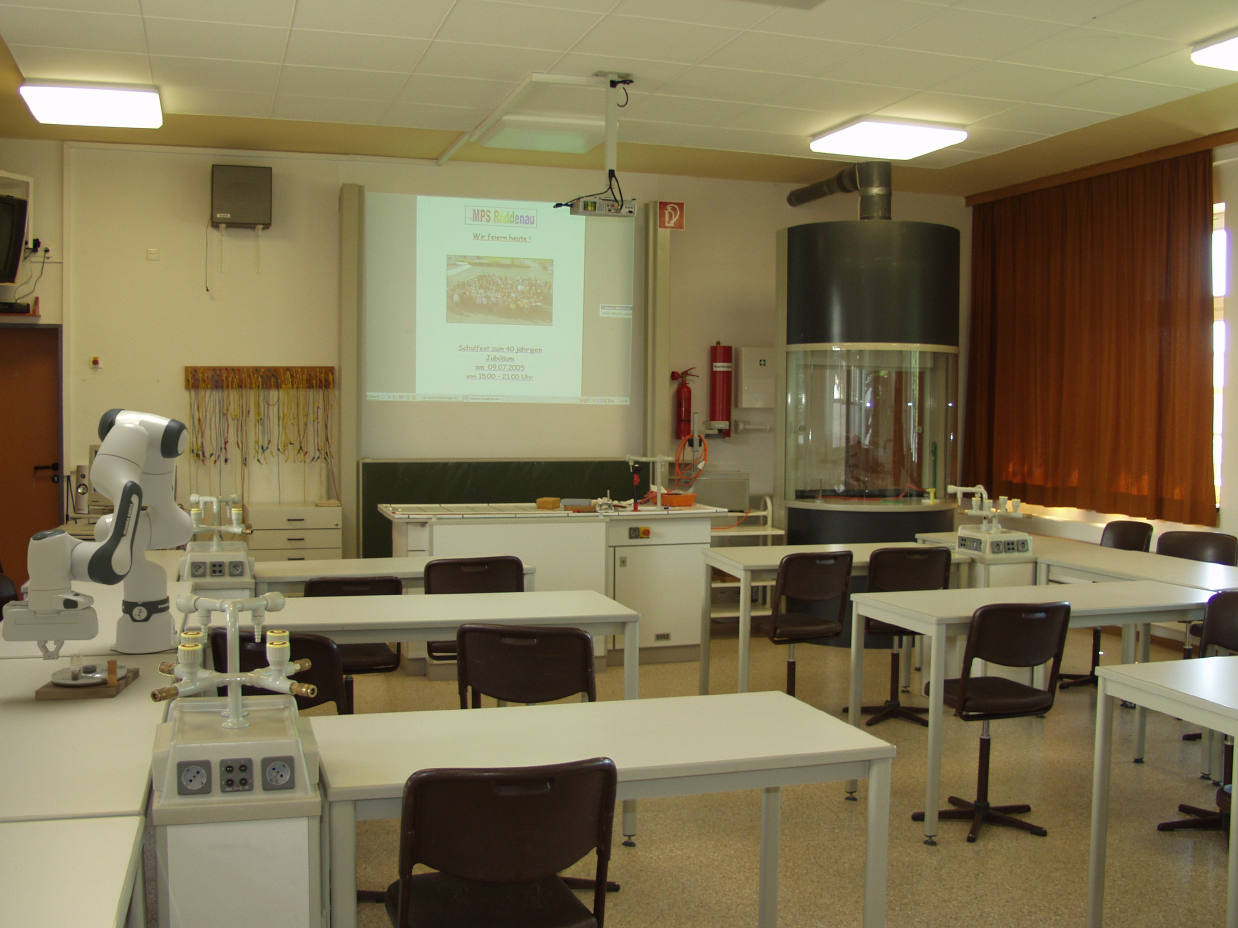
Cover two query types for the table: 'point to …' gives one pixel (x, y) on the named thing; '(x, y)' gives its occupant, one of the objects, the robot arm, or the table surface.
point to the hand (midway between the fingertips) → (51, 659)
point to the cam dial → (85, 673)
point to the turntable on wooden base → (90, 691)
